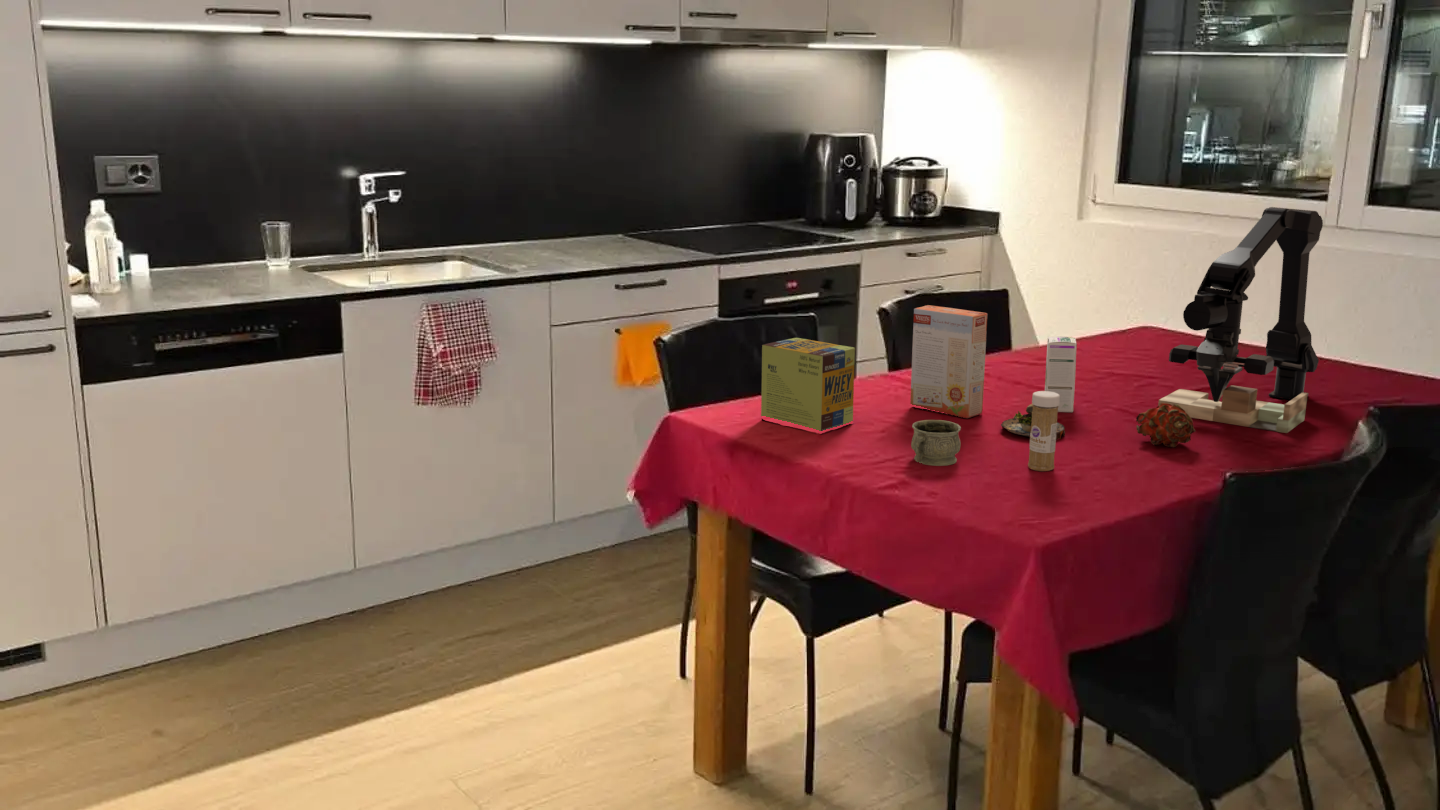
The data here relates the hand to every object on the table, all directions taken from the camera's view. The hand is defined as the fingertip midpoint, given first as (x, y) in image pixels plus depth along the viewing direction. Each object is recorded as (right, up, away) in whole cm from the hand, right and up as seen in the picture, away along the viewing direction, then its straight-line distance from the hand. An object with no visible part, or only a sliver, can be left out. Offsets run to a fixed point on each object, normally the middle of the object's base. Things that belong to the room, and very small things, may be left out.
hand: (1216, 401), depth 255 cm
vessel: (-60, -11, -27) cm, 67 cm away
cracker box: (-53, -2, +6) cm, 53 cm away
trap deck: (+4, -3, +2) cm, 5 cm away
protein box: (-82, -4, -3) cm, 82 cm away
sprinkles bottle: (-43, -12, -32) cm, 55 cm away
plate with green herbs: (-39, -6, -10) cm, 41 cm away
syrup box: (-29, -2, +8) cm, 31 cm away
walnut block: (+3, -1, -3) cm, 4 cm away
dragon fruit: (-17, -8, -17) cm, 25 cm away
